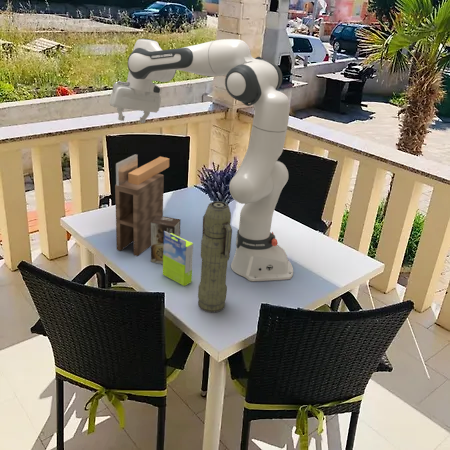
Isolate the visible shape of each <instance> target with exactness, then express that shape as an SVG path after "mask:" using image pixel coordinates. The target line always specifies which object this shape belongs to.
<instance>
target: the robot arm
mask: <svg viewBox="0 0 450 450" xmlns="http://www.w3.org/2000/svg"><path fill="white" fill-rule="evenodd" d="M127 68H128V73H127V74H128V75H127V79H126V81H121V80H117V82H114V83H113V85H112V91H111V93H110V97H109V102H108V103H109V105H110V106H111V107H113V108H116V110H117V111H116V112H117V113H118V117H117V119H118V121H122V122H124V121H125V117H126V116H125V115H123V112H124V109H126V110H131V111H132V110H133V111H141V112H143V115H142V116H141V117H139V122H140V123H141V124H145V123H146V120H147V118H148V117H149V116H150V113H158V112H159V111H160V108H161V103H162V101H161V100H162V96H161V94H162V92H163V89H162V87H160V86H159V85H157V84H156V83H153V81H155V82H161V83H168V82H171V81H172V80H173V79H174V78H175V75H176V72H177V71H181V72H182V71H183V72H187V73H191V74H194V75H200V76H204V77H214V78H215V77H223V76H225V77H224V78H225V79H224V85H225V86H224V87H225V91H227V93H228V95H230V97H231V98H233V99H234V100H236V101H239V102H241V103H242V104H243V105H245V106H247V107H250V106H253V109H254V111H253V112H254V115H253V120H252V124H251V125H252V127H251V130H250V131H251V132H250V137H249V141H248V145H247V149H246V152H245V155H244V157H243V159H242V162H241V164H240V166H239V168H238V170H237V172H236V173H235V175H234V176H233V177H232V178H231V179H230V182H229V187H228V188H229V192H230V195H231V197H232V198H233V199H234V201H235V202H236V203H239V204H240V205H241V204H242V205H243V206H242V208H241V210H240V212H239V223H238V224H239V225H238V230H237V232H236V236H235V237H236V238H235V240H236V241H235V245H236V248H235V253H234V256H233V259H232V261H231V262H230V268H231V270H232V271H233V272H234V273H235V274H237V275H239V276H241V277H244V278H245V279H246V280H247V281H249V282H266V281H268V282H269V281H281V280H284V281H285V280H291V279H292V278H293V276H294V268H293V265H292V262H291V261H290V260H289V259H288V255H287V253H286V251H285V249H284V248H283V247H281V246H280V245H279V244H278V240H277V239H276V235H275V234H274V232H273V231H271V228H272V221H273V216H274V212H275V209H276V206H277V203H278V201H279V198H280V195H281V193H282V190H283V188H284V187H285V185H286V184H287V182H288V180H289V170H288V169H287V167H286V165H285V164H284V163H283V162H281V161H280V160H278V159H279V158H281V157H280V156H281V155H282V153H283V152H284V146H285V142H286V137H287V132H288V127H289V120H290V100H289V97H288V96H287V94H285V93H284V92H282V91H280V90H278V89H280V87H281V85H282V83H283V73H282V70H281V68H280V67H279V66H278V64H275V62H272V61H270V60H267V59H265V58H263V57H261V56H257V57H253V55H252V53H251V49H250V46H249V44H248V43H247V42H245V41H244V40H242V39H238V38H236V39H235V38H223V39H216V40H215V39H214V40H210V41H207V42H202V43H199V44H194V45H189V46H184V47H180V48H178V47H177V48H171V49H164V50H163V49H162V48H161V46H160V45H159V42H158V41H156V40H154V39H150V38H139V39H137V40H136V42H135V44H134V46H133V50H132V52H131V53H130V54H129V56H128V58H127Z"/></svg>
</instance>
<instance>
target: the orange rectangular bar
mask: <svg viewBox="0 0 450 450" xmlns="http://www.w3.org/2000/svg"><path fill="white" fill-rule="evenodd" d="M169 167H170V158H168V157H166V156H165V157H164V156H158V157H157V158H155V159H153V160H151V161H149V162H147V163H145V164H143V165H141V166H139V167H138V168H137V169H135V170H134V171H132V172H130V173H128V183H132V184H136V185H139V184H141V183H142V182H144V181H146V180H147V179H149V178H151V177H153V176H154V175H156V174H161V172H163V171H165V170H166V169H168V168H169Z"/></svg>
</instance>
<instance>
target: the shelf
mask: <svg viewBox="0 0 450 450" xmlns="http://www.w3.org/2000/svg"><path fill="white" fill-rule="evenodd" d="M164 177H165V175H164V174H161V173H158V174H156V175H154V176H153V177H151V178H149V179H147V180H146V181H144V182H142V183H141V184H139V185H136V184H132V183H128V181H127V182H125V183H123V184H121V185H119V186H117V185H116V184H115V185H114V190H115V191H114V193H115V195H114V196H115V229H116V230H115V235H116V236H115V237H116V250H117V251H120V252H121V251H122V250H124V249H125V248H127V247H128V246H129V245H131V244H132V243H133V256H135V257H138V256H139V255H141V254H143V253H144V252H145V251H146V250H147V249H148V248H151V222H152V221H153V220H154V219H155V218H156V216H157V215H158V216H164V182H165V181H164V180H165V179H164Z"/></svg>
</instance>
